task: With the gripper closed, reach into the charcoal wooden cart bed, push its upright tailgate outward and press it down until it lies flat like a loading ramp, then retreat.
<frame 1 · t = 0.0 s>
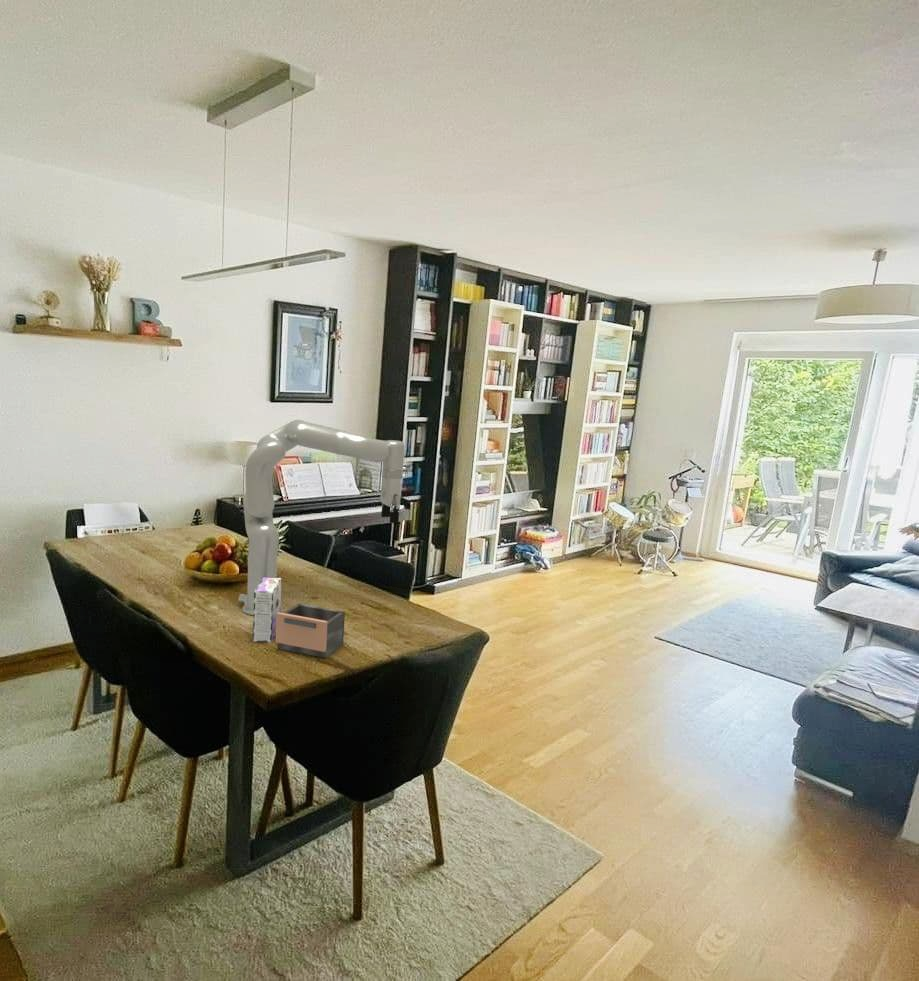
hand: (389, 519, 228), 31 cm above the table, tool pointing down, fingers open, 9 cm apart
cart bed: (310, 646, 187), on the table
candy box: (266, 634, 195), on the table
tailgate: (300, 632, 180), point 7 cm above the table, hinge at 0.0°
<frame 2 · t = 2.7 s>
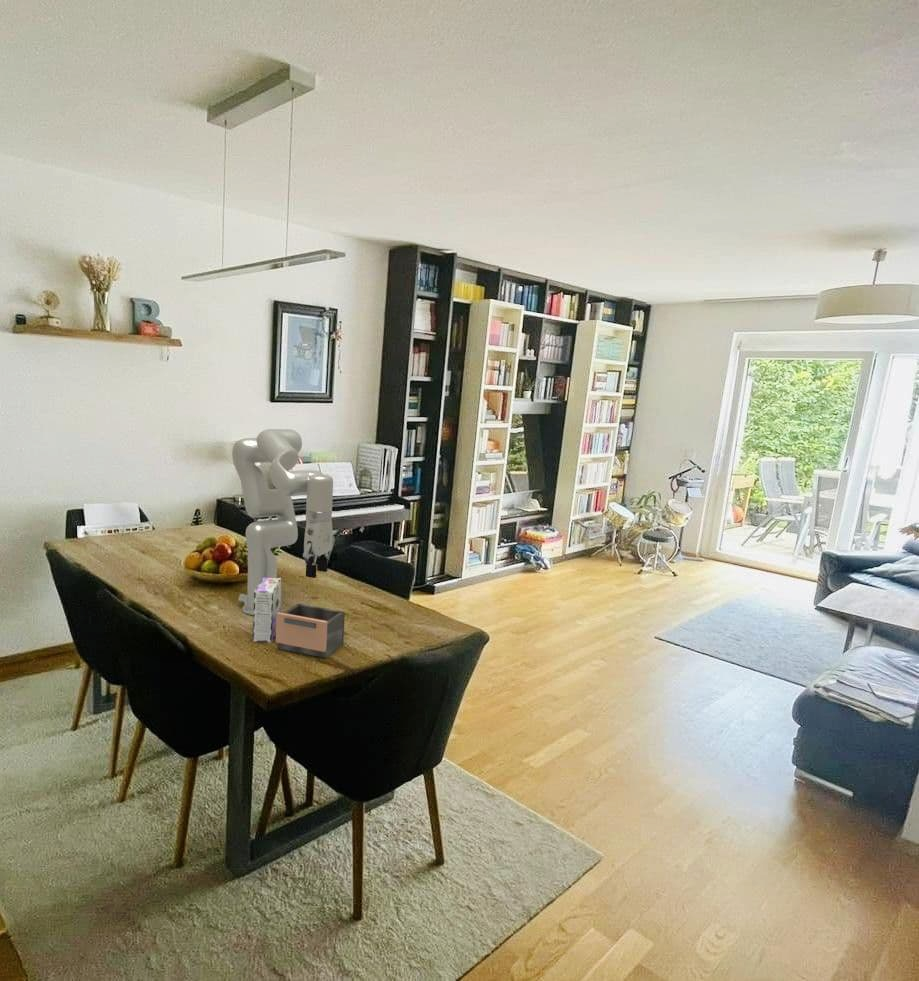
hand: (316, 573, 186), 23 cm above the table, tool pointing down, fingers open, 6 cm apart
nothing on the table moved.
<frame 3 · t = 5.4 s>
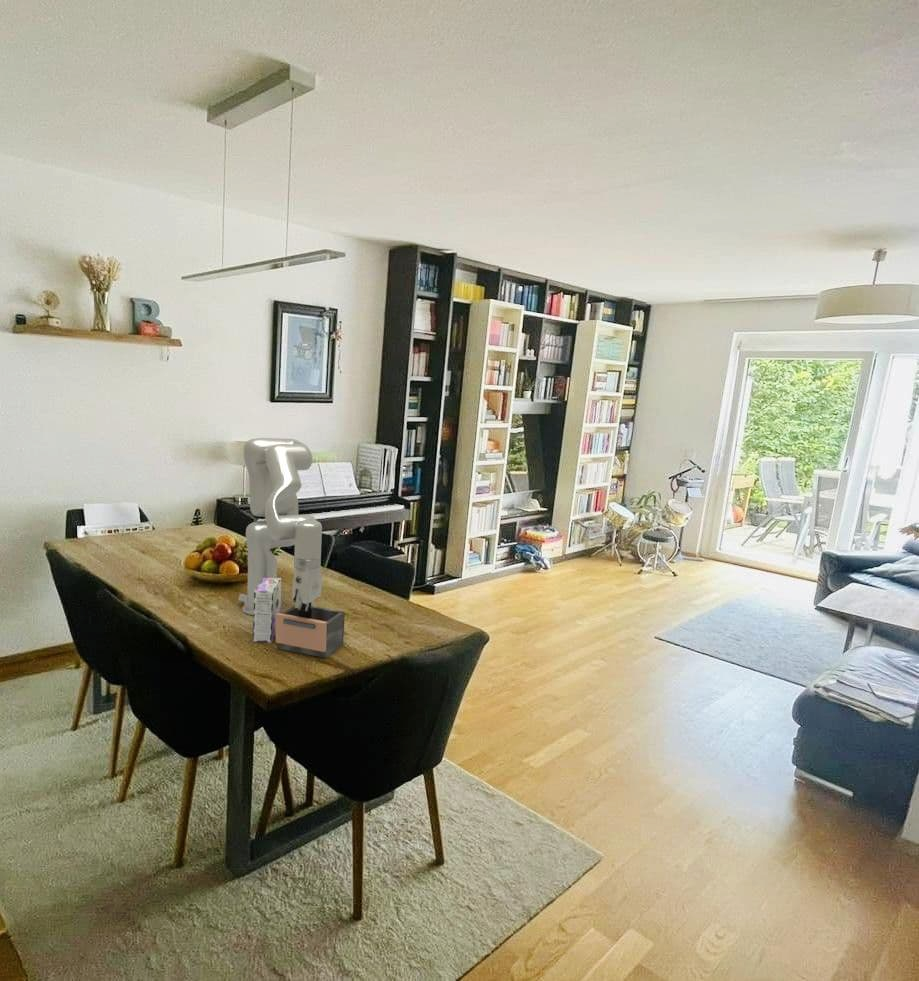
hand: (305, 622, 182), 9 cm above the table, tool pointing down, fingers closed
tailgate: (300, 632, 180), point 7 cm above the table, hinge at 3.7°, touching gripper
everything else where it was.
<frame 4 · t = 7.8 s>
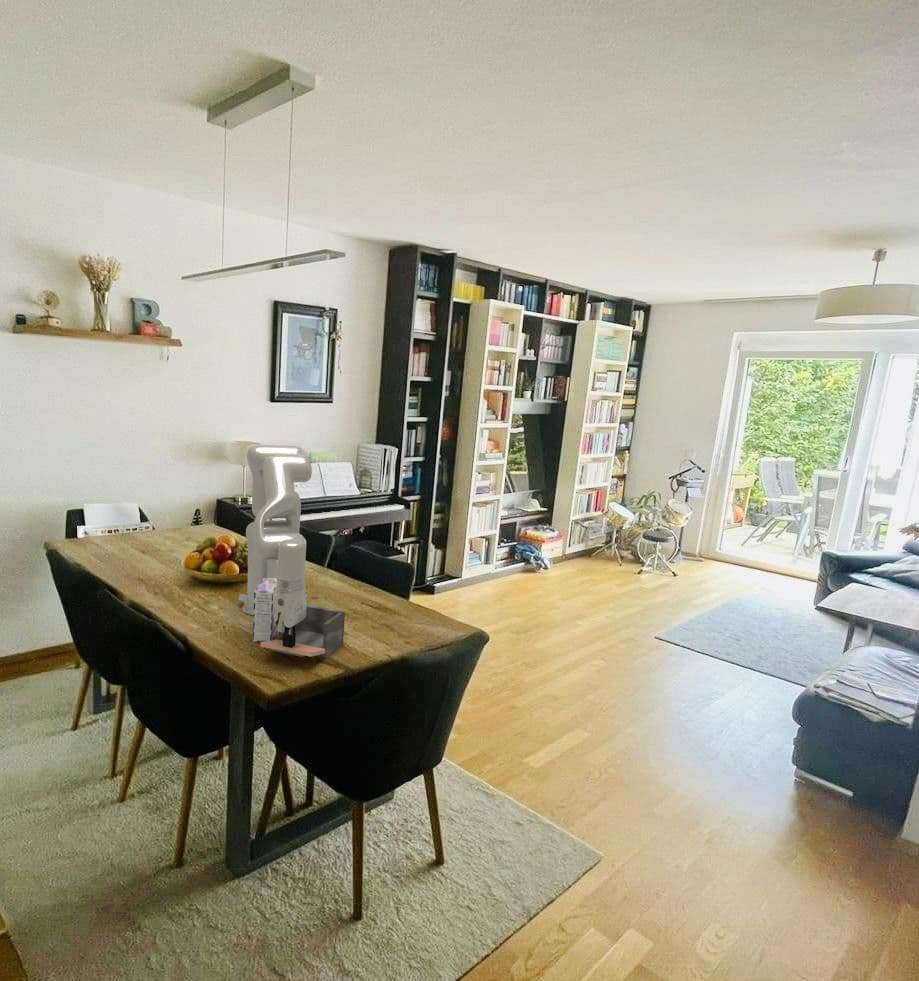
hand: (288, 645, 174), 5 cm above the table, tool pointing down, fingers closed
tailgate: (293, 648, 177), point 3 cm above the table, hinge at 73.6°, touching gripper
everything else where it was.
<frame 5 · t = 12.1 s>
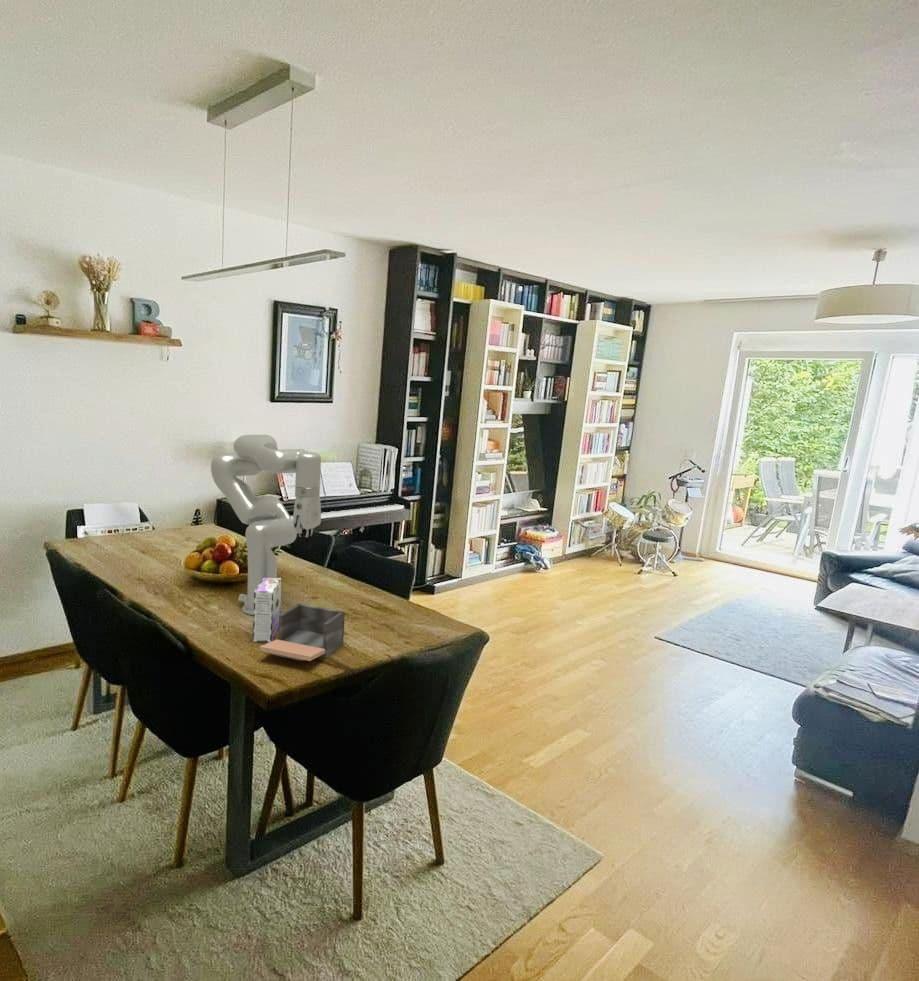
hand: (305, 548, 196), 27 cm above the table, tool pointing down, fingers closed
tailgate: (292, 651, 177), point 3 cm above the table, hinge at 81.5°
everything else where it was.
at the end: tailgate at +82° (first picture: +0°); candy box moved 0.3 cm from its start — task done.
